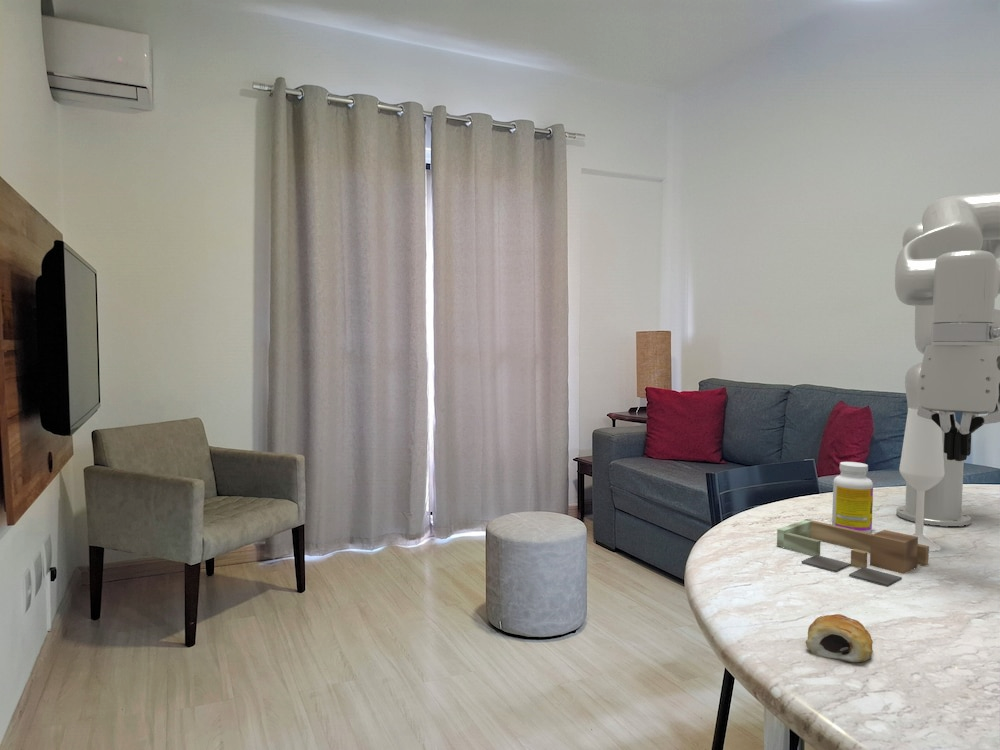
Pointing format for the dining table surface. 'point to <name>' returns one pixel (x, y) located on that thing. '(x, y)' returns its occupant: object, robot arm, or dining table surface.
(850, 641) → the pastry
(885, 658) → the dining table surface
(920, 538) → the champagne flute
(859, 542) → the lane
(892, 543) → the block
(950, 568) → the dining table surface
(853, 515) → the supplement bottle
